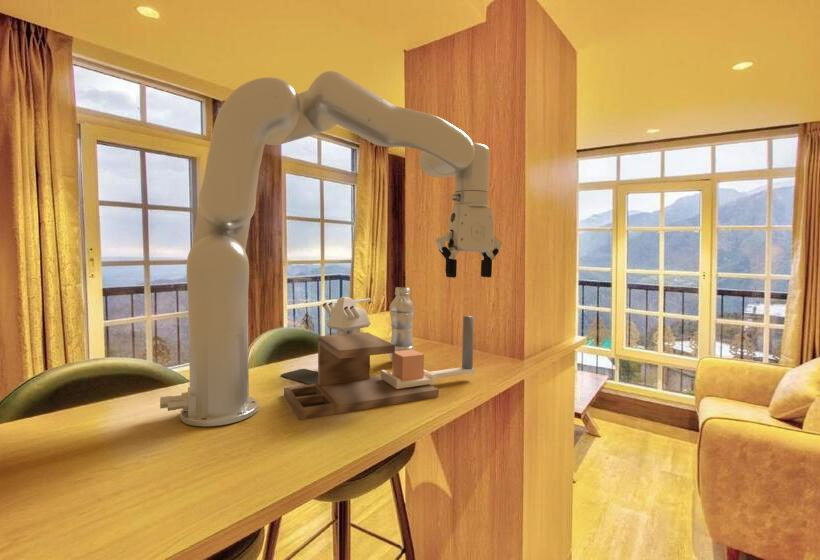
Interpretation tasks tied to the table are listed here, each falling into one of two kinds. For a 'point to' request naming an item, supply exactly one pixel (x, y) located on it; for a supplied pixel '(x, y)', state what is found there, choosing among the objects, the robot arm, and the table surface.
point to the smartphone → (302, 376)
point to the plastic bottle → (402, 320)
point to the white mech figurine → (347, 315)
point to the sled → (430, 376)
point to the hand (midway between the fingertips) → (468, 277)
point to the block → (408, 365)
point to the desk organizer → (350, 379)
